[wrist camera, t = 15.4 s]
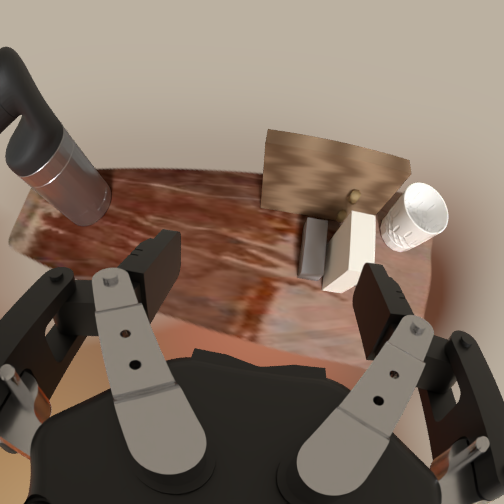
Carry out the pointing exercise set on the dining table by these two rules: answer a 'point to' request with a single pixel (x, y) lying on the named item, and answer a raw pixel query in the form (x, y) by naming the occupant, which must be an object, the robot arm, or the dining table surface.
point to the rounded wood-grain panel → (325, 186)
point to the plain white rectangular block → (349, 252)
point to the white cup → (414, 218)
